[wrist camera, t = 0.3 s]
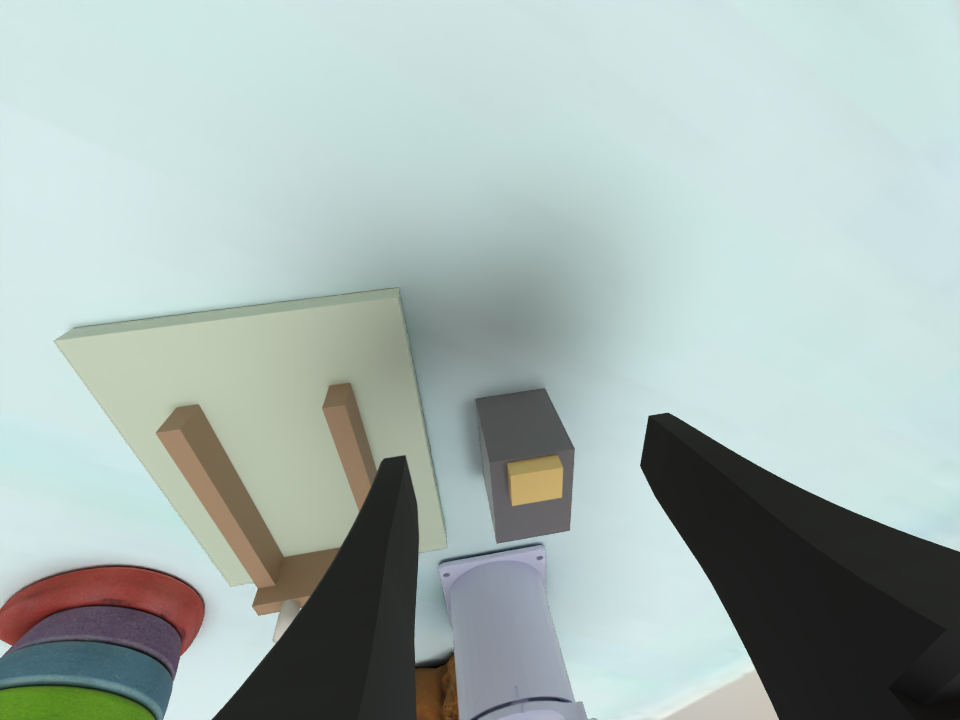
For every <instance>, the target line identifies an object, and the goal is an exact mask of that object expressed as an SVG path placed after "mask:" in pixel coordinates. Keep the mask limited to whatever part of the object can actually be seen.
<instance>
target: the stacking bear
mask: <svg viewBox="0 0 960 720" xmlns="http://www.w3.org/2000/svg"><path fill="white" fill-rule="evenodd" d="M203 617H204V607H203V603H202V601H201V599H200V597H199V596H198V595H197V593H196V592H195V591H194V590H193V589H191V588H190V587H189V586H187V585H186V584H184V583H183V582H181V581H179V580H177V579H175V578H173V577H170V576H167V575H164V574H161V573H158V572H154V571H150V570H144V569H138V568H128V567H104V568H95V569H87V570H80V571H75V572H71V573H66V574H62V575H58V576H55V577H52V578H49V579H46V580H43V581H40V582H38V583H36V584H33V585H31V586H29V587H27V588H25V589H23V590H22V591H20V592H18V593H17V594H15V595H14V596H13V597H12V598H10V599H9V600H8V601H7V602H6V603H5V604H4V605H3V607H2V608H1V609H0V640H2V641H4V642H6V643H8V644H10V645H12V647H11V648H10V649H9V650H8V651H7V652H6V653H5V654H4V655H3V656H2V657H1V658H0V720H163V718H164V715H165V712H166V709H167V706H168V702H169V699H170V696H171V692H172V686H173V681H174V678H175V675H176V672H177V668H178V663H179V659H180V656H181V655H182V654H183V653H184V652H185V651H186V650H187V649H188V648H189V646H190V645H191V643H192V642H193V640H194V639H195V637H196V635H197V633H198V631H199V629H200V627H201V625H202V622H203Z"/></svg>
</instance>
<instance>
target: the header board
mask: <svg viewBox="0 0 960 720" xmlns="http://www.w3.org/2000/svg"><path fill="white" fill-rule="evenodd" d="M54 343H55V344H56V346H57V347H58V348H59V350H60V351H61V352H62V354H63V355H64V357H65V358H66V359H67V361H68V362H69V364H70V365H71V366H72V368H73V369H74V371H75V372H76V373H77V375H78V376H79V377H80V379H81V380H82V382H83V383H84V384H85V386H86V387H87V389H88V390H89V391H90V393H91V394H92V395H93V397H94V398H95V400H96V401H97V402H98V404H99V405H100V407H101V408H102V409H103V411H104V412H105V414H106V415H107V416H108V418H109V419H110V420H111V422H112V423H113V425H114V426H115V427H116V429H117V430H118V432H119V433H120V434H121V436H122V437H123V438H124V440H125V441H126V443H127V444H128V445H129V447H130V448H131V450H132V451H133V452H134V454H135V455H136V457H137V458H138V459H139V461H140V462H141V463H142V465H143V466H144V468H145V469H146V470H147V472H148V473H149V475H150V476H151V477H152V479H153V480H154V481H155V483H156V484H157V486H158V487H159V488H160V490H161V491H162V493H163V494H164V495H165V497H166V498H167V500H168V501H169V502H170V504H171V505H172V506H173V508H174V509H175V511H176V512H177V513H178V515H179V516H180V518H181V519H182V520H183V522H184V523H185V524H186V526H187V527H188V529H189V530H190V531H191V533H192V534H193V536H194V537H195V538H196V540H197V541H198V543H199V544H200V545H201V547H202V548H203V549H204V551H205V552H206V554H207V555H208V556H209V558H210V559H211V561H212V562H213V563H214V565H215V566H216V567H217V569H218V570H219V572H220V573H221V574H222V576H223V577H224V579H225V580H226V581H227V583H228V584H229V586H230V587H233V586H238V585H244V584H249V583H255V585H256V586H257V588H258V590H257V593H256V596H255V599H254V602H253V605H252V607H253V608H254V610H255V611H256V613H257V614H258V616H259V615H265V614H270V613H276V612H280V613H279V617H278V621H277V624H276V628H275V632H274V635H273V641H274V642H275V643H277V641H278V640H279V639H280V637H281V636H282V635H283V633H284V632H285V631H286V629H287V628H288V627H289V625H290V624H291V623H292V621H293V620H294V618H295V617H296V616H297V614H298V613H299V610H300V608H302V607H303V606H304V604H305V603H306V602H307V600H308V599H309V597H310V596H311V594H312V593H313V591H314V590H315V588H316V587H317V585H318V584H319V582H320V581H321V579H322V577H323V576H324V574H325V573H326V571H327V569H328V568H329V566H330V565H331V563H332V561H333V560H334V558H335V556H336V554H337V553H338V551H339V549H340V547H341V545H342V544H343V542H344V540H345V538H346V537H347V535H348V533H349V531H350V529H351V527H352V525H353V524H354V522H355V520H356V517H357V515H358V513H359V511H360V509H361V507H362V505H363V503H364V501H365V499H366V497H367V495H368V492H369V490H370V488H371V486H372V483H373V481H374V478H375V476H376V473H377V471H378V468H379V466H380V463H381V461H382V460H383V459H384V458H390V457H396V456H402V455H406V459H407V463H408V467H409V471H410V475H411V479H412V484H413V488H414V492H415V496H416V500H417V506H418V524H419V553H423V552H429V551H434V550H440V549H445V548H447V537H446V529H445V524H444V519H443V514H442V509H441V504H440V498H439V493H438V488H437V483H436V478H435V473H434V468H433V462H432V457H431V452H430V447H429V442H428V437H427V432H426V427H425V421H424V416H423V411H422V406H421V401H420V396H419V391H418V385H417V380H416V375H415V370H414V365H413V360H412V355H411V350H410V344H409V339H408V334H407V329H406V324H405V319H404V314H403V308H402V303H401V298H400V293H399V288H391V289H383V290H375V291H367V292H359V293H351V294H343V295H335V296H327V297H319V298H311V299H303V300H295V301H287V302H279V303H271V304H263V305H255V306H247V307H239V308H231V309H223V310H215V311H207V312H199V313H191V314H183V315H175V316H167V317H159V318H151V319H143V320H135V321H127V322H119V323H111V324H103V325H95V326H87V327H79V328H74V329H72V330H70V331H69V332H67V333H65V334H64V335H62V336H60V337H59V338H57V339H56V340H54Z"/></svg>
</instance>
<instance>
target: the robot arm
mask: <svg viewBox="0 0 960 720" xmlns="http://www.w3.org/2000/svg"><path fill="white" fill-rule="evenodd" d="M640 466H641V469H642V471H643V473H644V475H645V477H646V479H647V481H648V483H649V485H650V487H651V489H652V491H653V493H654V495H655V497H656V499H657V500H658V502H659V503H660V505H661V506H662V508H663V509H664V511H665V513H666V514H667V516H668V517H669V519H670V520H671V522H672V523H673V525H674V526H675V528H676V529H677V531H678V532H679V534H680V535H681V537H682V538H683V540H684V541H685V543H686V544H687V546H688V547H689V549H690V550H691V552H692V553H693V555H694V556H695V558H696V559H697V561H698V562H699V564H700V565H701V567H702V569H703V570H704V572H705V574H706V575H707V577H708V578H709V580H710V582H711V583H712V585H713V587H714V589H715V591H716V593H717V594H718V596H719V598H720V600H721V602H722V604H723V606H724V607H725V609H726V611H727V613H728V615H729V617H730V619H731V621H732V623H733V625H734V627H735V628H736V630H737V632H738V634H739V636H740V638H741V640H742V642H743V644H744V646H745V648H746V650H747V652H748V654H749V656H750V658H751V660H752V662H753V664H754V666H755V669H756V671H757V673H758V675H759V677H760V679H761V681H762V683H763V685H764V687H765V690H766V692H767V694H768V696H769V698H770V700H771V702H772V704H773V707H774V709H775V711H776V713H777V716H778V718H779V720H960V552H959V551H956V550H953V549H950V548H947V547H944V546H941V545H938V544H935V543H933V542H930V541H927V540H924V539H921V538H918V537H916V536H913V535H910V534H907V533H905V532H902V531H899V530H897V529H894V528H891V527H889V526H886V525H884V524H881V523H879V522H876V521H874V520H872V519H869V518H867V517H864V516H862V515H859V514H857V513H854V512H852V511H850V510H847V509H845V508H843V507H840V506H838V505H836V504H833V503H831V502H829V501H827V500H825V499H823V498H821V497H818V496H816V495H814V494H812V493H810V492H808V491H806V490H804V489H801V488H799V487H797V486H795V485H793V484H791V483H789V482H787V481H786V480H784V479H782V478H780V477H778V476H776V475H774V474H772V473H771V472H769V471H767V470H765V469H763V468H761V467H759V466H758V465H756V464H754V463H752V462H751V461H749V460H747V459H745V458H743V457H742V456H740V455H738V454H737V453H735V452H733V451H732V450H730V449H728V448H726V447H725V446H723V445H721V444H720V443H718V442H716V441H715V440H713V439H712V438H710V437H708V436H707V435H705V434H703V433H702V432H700V431H698V430H697V429H695V428H694V427H692V426H690V425H689V424H687V423H685V422H684V421H682V420H680V419H679V418H677V417H675V416H673V415H672V414H670V413H663V414H657V415H651V416H649V417H648V423H647V429H646V435H645V441H644V447H643V452H642V458H641V464H640ZM418 553H419V524H418V506H417V500H416V496H415V492H414V488H413V484H412V479H411V475H410V471H409V467H408V463H407V459H406V455H402V456H396V457H390V458H384V459H383V460H382V461H381V463H380V466H379V468H378V471H377V473H376V476H375V478H374V481H373V483H372V486H371V488H370V490H369V492H368V495H367V497H366V499H365V501H364V503H363V505H362V507H361V509H360V511H359V513H358V515H357V517H356V520H355V522H354V524H353V525H352V527H351V529H350V531H349V533H348V535H347V537H346V538H345V540H344V542H343V544H342V545H341V547H340V549H339V551H338V553H337V554H336V556H335V558H334V560H333V561H332V563H331V565H330V566H329V568H328V569H327V571H326V573H325V574H324V576H323V577H322V579H321V581H320V582H319V584H318V585H317V587H316V588H315V590H314V591H313V593H312V594H311V596H310V597H309V599H308V600H307V602H306V603H305V604H304V606H303V607H302V609H301V610H300V611H299V613H298V614H297V616H296V617H295V618H294V620H293V621H292V623H291V624H290V625H289V627H288V628H287V629H286V631H285V632H284V633H283V635H282V636H281V637H280V639H279V640H278V641H277V643H276V644H275V645H274V647H273V648H272V649H271V650H270V651H269V653H268V654H267V655H266V656H265V658H264V659H263V660H262V661H261V663H260V664H259V665H258V666H257V667H256V669H255V670H254V671H253V672H252V674H251V675H250V676H249V677H248V679H247V680H246V681H245V682H244V683H243V685H242V686H241V687H240V688H239V689H238V691H237V692H236V693H235V694H234V695H233V696H232V698H231V699H230V700H229V701H228V702H227V703H226V704H225V706H224V707H223V708H222V709H221V710H220V711H219V712H218V713H217V714H216V716H215V717H214V718H213V719H212V720H417V711H416V684H415V649H414V630H415V607H416V589H417V572H418ZM439 574H440V579H441V583H442V588H443V592H444V596H445V601H446V605H447V610H448V614H449V618H450V623H451V627H452V631H453V644H454V657H455V670H456V683H457V697H458V710H459V720H597V719H596V718H592V719H587V716H586V712H585V709H584V705H583V702H582V701H580V702H575V699H574V695H573V692H572V688H571V685H570V681H569V677H568V674H567V670H566V667H565V663H564V660H563V656H562V652H561V649H560V645H559V642H558V638H557V634H556V631H555V627H554V624H553V620H552V616H551V613H550V609H549V606H548V602H547V599H546V550H545V547H544V546H542V545H538V546H532V547H527V548H521V549H515V550H510V551H504V552H499V553H493V554H488V555H482V556H477V557H471V558H466V559H460V560H455V561H449V562H444V563H442V564H440V565H439Z"/></svg>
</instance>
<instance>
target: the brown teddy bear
mask: <svg viewBox="0 0 960 720" xmlns="http://www.w3.org/2000/svg"><path fill="white" fill-rule="evenodd" d="M415 684H416V711H417V720H459V710H458V697H457V683H456V670H455V657H454V655H452V656H451V657H450V658H449V661H448V662H447V663H446V664H445V665H442V666H440V667H438V668H437V669H436V668H428V667H424V668H415Z"/></svg>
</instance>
